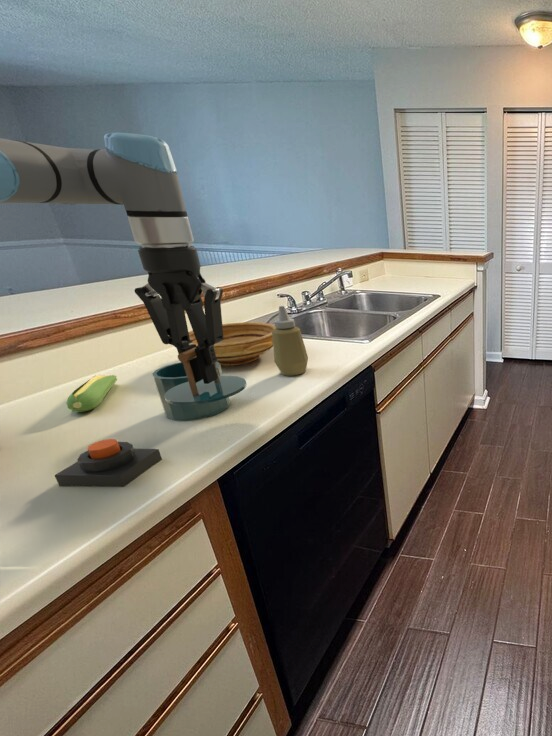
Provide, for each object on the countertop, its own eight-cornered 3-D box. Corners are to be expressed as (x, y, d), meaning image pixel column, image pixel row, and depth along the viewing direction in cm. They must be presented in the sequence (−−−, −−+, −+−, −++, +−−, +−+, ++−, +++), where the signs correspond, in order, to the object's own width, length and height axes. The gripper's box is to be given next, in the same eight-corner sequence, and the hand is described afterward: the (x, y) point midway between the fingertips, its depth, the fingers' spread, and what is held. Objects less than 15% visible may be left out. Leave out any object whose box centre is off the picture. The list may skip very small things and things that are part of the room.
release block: (59, 486, 66) (49, 465, 65) (104, 459, 74) (96, 439, 72) (124, 487, 66) (115, 466, 65) (162, 459, 74) (155, 439, 72)
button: (84, 459, 67) (80, 450, 66) (104, 447, 70) (100, 438, 69) (107, 459, 67) (103, 450, 66) (126, 448, 70) (123, 438, 70)
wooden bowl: (307, 356, 126) (303, 330, 123) (224, 382, 106) (216, 352, 103) (247, 341, 139) (241, 317, 135) (162, 361, 119) (153, 334, 116)
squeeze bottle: (316, 371, 115) (305, 305, 108) (288, 380, 108) (275, 311, 101) (299, 365, 119) (287, 301, 112) (270, 373, 112) (256, 306, 105)
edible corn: (64, 419, 87) (56, 398, 85) (98, 384, 103) (92, 367, 101) (97, 414, 89) (89, 394, 87) (125, 381, 105) (119, 364, 103)
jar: (152, 420, 87) (137, 378, 83) (190, 398, 97) (179, 359, 94) (208, 421, 87) (196, 379, 83) (240, 398, 97) (231, 360, 94)
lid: (148, 408, 72) (130, 358, 68) (197, 380, 83) (184, 336, 80) (221, 408, 72) (207, 359, 69) (260, 381, 84) (250, 337, 80)
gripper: (227, 244, 71) (256, 374, 80) (139, 242, 71) (178, 372, 80) (197, 248, 64) (233, 389, 73) (99, 246, 64) (147, 388, 73)
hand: (204, 380), depth 77 cm, fingers closed on lid, 2 cm apart
